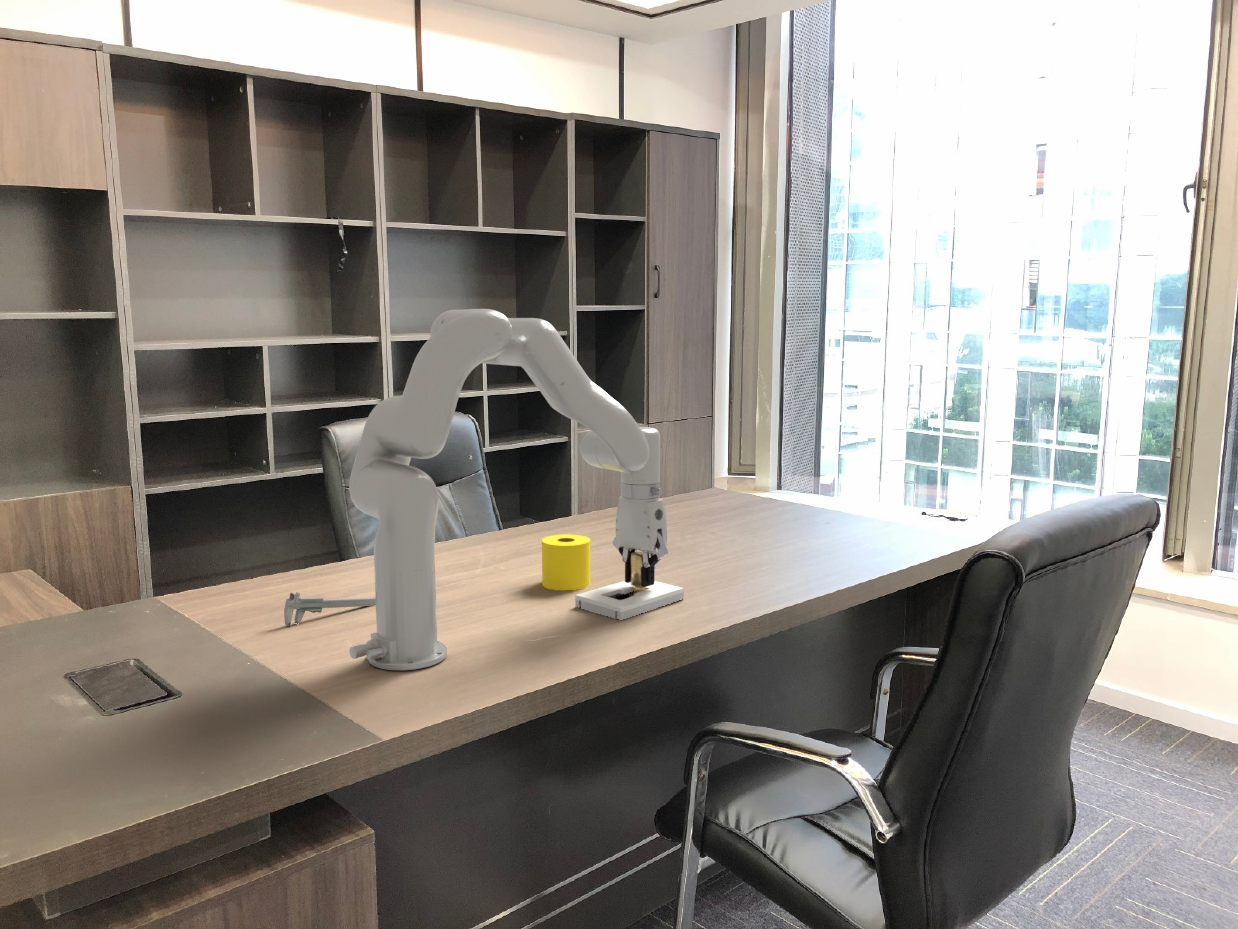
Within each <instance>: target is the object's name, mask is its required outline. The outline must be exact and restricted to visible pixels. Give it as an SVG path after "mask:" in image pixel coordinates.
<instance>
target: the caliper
mask: <svg viewBox="0 0 1238 929" xmlns="http://www.w3.org/2000/svg"><path fill="white" fill-rule="evenodd" d="M373 606H376V597H355V598H354V597H352V598H331V599H329V598H327V599H324V598H323V597H319V596H318V597H317V596H316V597H300V592H295V593H293V592H289V598H286V599H285V604H284V609H283V610H284V612H283V613H284V614H283V615H284V616H283V617H284V625H285V626H286V625H287V627H289V626H290V625H291V626H292V619H293V616H294V615H293V614H294V610H295V616H294V623H297V624H298V623H300V624H301V622H302V620H303V618H304V615H305V612H309V613H322V610H323V609H333V608H352V607H353V608H358V607H373ZM294 623H293V624H294ZM291 626H290V627H291Z"/></svg>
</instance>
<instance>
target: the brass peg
mask: <svg viewBox="0 0 1238 929" xmlns="http://www.w3.org/2000/svg"><path fill="white" fill-rule="evenodd" d="M643 566H644V562H643V553H642V551H637V552H633V553H631V585H633V586H635V591H634V592H631V593H629V594H628V595H629V596H628V598H629V597H633V596H634V593H637V592H640V591H643V590H645V587H642V586H641V568H642V567H643Z"/></svg>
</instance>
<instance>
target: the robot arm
mask: <svg viewBox="0 0 1238 929" xmlns="http://www.w3.org/2000/svg"><path fill="white" fill-rule="evenodd" d="M429 333H430V337H429V338H428V339H427V340H426V342H425V343H424V344H423V345H422V347H421V348H420V350H419V352H418V353H417V355H416V356H415V358H414V361H413V363H412V367H411V369H410V372H409V374H408V377H407V380H406V383H405V387H404V390H403V393H402V395H401V396H391V397H387V398H385V399H383V400H381V401H380V402H379V403H377V404H376V405H375V406H374V407H373V409H372V410H371V412H369V415H368V416H367V418H366V421H365V424H364V427H363V429H362V433H361V437H360V441H359V445H358V448H357V450H356V454H355V459H354V462H353V465H352V468H351V473H350V477H349V481H348V482H349V483H348V484H349V485H348V492H349V497H350V500H351V501H352V504H353V505H354V506H355V508H356V509H357V510H358V511H360V512H362V513H363V514H365V515H366V516H367V515H368V516H370V517H374V518H376V519H378V523H377V524H378V525H377V530H376V533H375V539H374V546H373V567H374V588H375V589H374V590H375V591H374V592H375V594H374V595H375V598H376V605H375V616H376V617H375V618H376V620H375V621H376V622H375V623H376V632H373V633H370V640H367V641H366V642H365V643H364V644H363V643H362V644H357V645H353V646H351V647H350V648H349V654H350V655H349V656H350V657H351V659H353V660H355V659H358V658H362V657H366V658H367V661H368V663H369V664H370V665H371V666H373V667H375V668H378V669H382V670H387V671H411V670H412V671H413V670H419V669H425V668H428V667H431V666H434V665H437V664H439V663H441V662H442V661H444V659H446V657H447V655H448V648H447V645H445V643H443V642H442V641H439V640H438V625H437V624H438V623H437V621H438V620H437V594H436V593H437V588H436V586H437V584H436V560H435V559H436V555H435V553H436V552H435V550H436V549H435V547H436V546H435V543H436V541H435V540H436V539H435V537H436V535H435V534H436V525H437V520H438V519H437V518H438V513H439V512H438V511H439V504H440V502H439V497H440V496H439V491H438V488H437V486H436V485H437V484H436V483H435V481H434V480H433V478H432V477H431V476H430V475H429V474H427V473H426V472H425V471H423V470H422V469H420V468H418V467H416V466H412V465H410V463H411V460H412V458H414V459H420V460H423V459H424V460H425V459H432V458H434V457H436V456H437V455H439V454H440V453H441V452H442V451H443V449H444V447H445V445H446V443H447V440H448V437H449V433H450V429H451V426H452V422H453V420H454V414H455V413H456V412H455V411H456V408H457V403H458V401H459V397H460V395H461V391H462V388H463V385H464V383H465V381H466V380H467V378H468V376H469V375H470V374H471V372H472V371H473V370H474V369H475V368H476V367H478V366H479V365H480V364H486V365H487V364H488V365H501V366H511V367H512V366H513V367H521V368H522V369H523V370H524V371H525V372H526V374H527V375H528V377H529V378H530V379H531V381H532V382H533V384H534V385H535V386H536V388H537V389H538V390H539V392H540V393H541V395H542V396H543V397H544V398H545V401H546V402H547V403H548V404H549V406H550V407H551V408H552V409H553V410H555V411H557V412H558V413H559V414H561V415H562V416H564V417H566V418H568V419H569V420H572V421H574V422H576V423H578V424H580V425H582V426H584V428H585V427H586V428H587V429H588V430H590V431H588V432H586V433H585V435H583V437H582V439H581V441H580V443H579V452H580V456H581V457H582V459H583V460H584V462H586V463H587V464H588V465H590V466H592V467H595V468H598V469H604V470H610V471H617V472H620V496H619V497H618V503H617V507H616V512H615V513H616V515H615V527H614V528H615V534H614V535H615V536H614V539H613V541H612V545H613V546H614V548H616V549H617V550H618V552H619V554H620V556H621V557H622V558H621V560H622V562H623V563H624V581H625V582H626V583H629V582H631V553H633V552H638V551H639V552H642V553H643V562H644V566H643V567H642V568H641V586H642V587H647V586H650V585H653V584H654V581H655V568H656V567H655V566H657V565H658V562H660V560H661V559H663V558H665V557H667V556H669V551H668V548H667V547H668V526H667V524H668V523H667V515H666V508H665V504H664V500H663V499H662V498H660V497H661V496H662V495H663V493H664V490H663V488H661V484H660V483H661V434H660V432H659V430H658V429H657V428H654V427H649V426H639V424H638V423H637V422H636V419H634V417H633V415H632V414H631V413H630V412H629V411H628V410H627V409H626V408H625V407H624V406H623V405H622V404H621V403H620V402H619V401H617V400H616V399H614V398H613V397H612V396H611V395H610V394H608V392H606V391H605V390H604V389H603V388H602V387H601V386H599V385H597V384H596V383H595V381H594V382H593V381H592V380H591V379H590V378H589V376H588V374H586V371H585V370H584V369H583V367H582V366H581V365H580V362H579V361H578V360H577V359H576V357H575V355H574V354H573V353H572V351H571V350H570V348H569V346H568V345H567V344H566V342H565V341H564V340H563V337H562V336H561V335H560V333H559V332H558V330H557V329H556V328H555V327H554V326H553V324H551V323H550V322H549V321H547V320H544V319H542V318H537V317H536V318H535V317H507V316H506V315H505V314H504V313H502V312H500V311H498V310H495V309H490V308H469V309H464V308H463V309H450V310H446V311H444V312H442V313H440V314H438V316H437V317H436V318H435V319H434V320H433V322H432V325H431V327H430V332H429Z"/></svg>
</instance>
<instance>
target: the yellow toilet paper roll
mask: <svg viewBox="0 0 1238 929" xmlns="http://www.w3.org/2000/svg"><path fill="white" fill-rule="evenodd" d="M541 580H542V581H541V582H542V584H541V585H542V587H543V586H544V587H543V588H545V589H548V590H551V589H554V590H553V591H558V590H573V591H575V590H574V589H580V590H583V588H584V589H586V588H585V587H587V586H588V587H590V586H591V538H590V537H588V536H585V535H579V534H556V535H550V536H549V535H548V536H545V537H544V538H542V539H541ZM589 585H590V586H589ZM588 587H587V588H588Z"/></svg>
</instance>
